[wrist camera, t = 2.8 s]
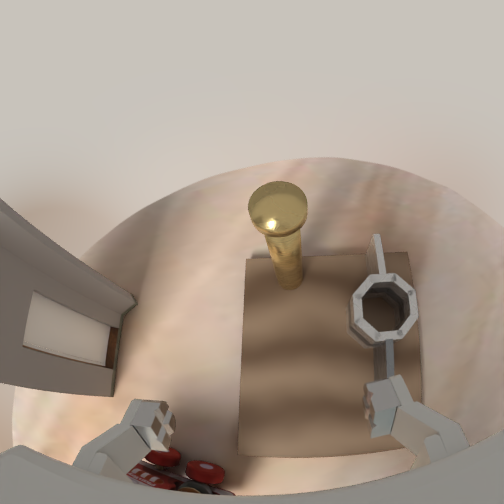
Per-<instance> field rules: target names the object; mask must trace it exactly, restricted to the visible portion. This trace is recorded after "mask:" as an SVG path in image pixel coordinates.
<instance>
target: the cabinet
mask: <svg viewBox="0 0 504 504" xmlns="http://www.w3.org/2000/svg"><path fill="white" fill-rule="evenodd" d="M137 304H138V303H137V302H136V300H135V298H134V296H133V295H132V294H130V293H129V292H127V291H126V290H124V289H122V288H121V287H119V286H118V285H116V284H115V283H113V282H111V281H110V280H108V279H107V278H105V277H104V276H102V275H101V274H99V273H98V272H96V271H95V270H93V269H92V268H90V267H89V266H87V265H86V264H84V263H83V262H82V261H80V260H79V259H77V258H76V257H74V256H73V255H72V254H70V253H69V252H67V251H66V250H65V249H63V248H62V247H60V246H59V245H58V244H56V243H55V242H54V241H52V240H51V239H50V238H48V237H47V236H46V235H45V234H43V233H42V232H40V231H39V230H38V229H37V228H35V227H34V226H33V225H32V224H30V223H29V222H28V221H27V220H25V219H24V218H23V217H22V216H21V215H19V214H18V213H17V212H16V211H14V210H13V209H12V208H11V207H10V206H8V205H7V204H6V203H5V202H4V201H3V200H1V199H0V383H4V384H10V385H14V386H20V387H25V388H31V389H37V390H44V391H51V392H59V393H68V394H78V395H89V396H104V397H113V395H114V384H115V374H116V365H117V357H118V350H119V343H120V336H121V329H122V323H123V317H124V315H125V314H127V313H128V312H129V311H130V310H131V309H133V308H134V307H135V306H136V305H137ZM33 344H34V345H33ZM36 345H37V346H36ZM39 346H40V347H39ZM46 348H47V349H46ZM49 349H50V350H49ZM56 351H57V352H56Z"/></svg>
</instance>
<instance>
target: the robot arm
mask: <svg viewBox="0 0 504 504" xmlns="http://www.w3.org/2000/svg"><path fill="white" fill-rule="evenodd" d="M363 390H364V394H365V395H364V396H363V400H362V404H363V412H364V416H365V418H366V419H367V420H368V423H367V428H368V431H369V435H370V438H375V437H379V436H384V435H388V434H391V436H393V437H394V438H395V439H396V440H397V441H399V442H400V443H401V444H402V445H404V446H405V447H406V448H407V449H408V450H410V451H411V452H412V453H413V454H415V455H416V456H417V457H416V459H415V461H414V463H413V465H412V467H411V469H410V471H407V472H404V473H400V474H397V475H394V476H390V477H386V478H383V479H379V480H375V481H371V482H366V483H362V484H357V485H352V486H347V487H342V488H336V489H330V490H323V491H315V492H307V493H297V494H285V495H264V496H232V495H211V494H199V493H189V492H180V491H173V490H166V489H160V488H154V487H149V486H144V485H139V484H134V483H133V481H132V480H131V479H130V478H129V477H128V476H127V475H126V474H127V473H128V472H129V471H130V470H131V469H132V468H133V467H134V466H135V465H137V464H138V463H139V462H140V461H141V460H142V459H143V458H144V457H145V456H146V455H147V454H148V453H149V452H150V451H151V450H158V451H168V449H169V446H170V443H171V438H170V435H171V434H173V433H174V431H175V427H176V421H175V417H174V415H173V413H172V412H170V411H169V410H168V407H169V406H168V405H167V403H166V402H165V401H155V400H142V399H134V400H132V401H131V403H130V405H129V407H128V409H127V411H126V413H125V415H124V417H123V419H122V421H121V423H120V424H116V425H115V426H113V427H112V428H110V429H109V430H107V431H106V432H104V433H103V434H101V435H100V436H98V437H97V438H95V439H94V440H92V441H91V442H89V443H87V444H86V445H84V446H83V447H82V448H81V450H80V452H79V453H78V455H77V457H76V459H75V461H74V463H73V465H69V464H66V463H63V462H61V461H58V460H56V459H53V458H51V457H49V456H46V455H44V454H42V453H39V452H37V451H35V450H33V449H31V448H29V447H26V446H24V445H18V446H15V447H13V448H10V449H8V450H6V451H4V452H3V453H0V504H504V429H502V430H501V431H499V432H497V433H495V434H494V435H492V436H490V437H488V438H486V439H484V440H482V441H480V442H478V443H476V444H474V445H472V446H470V445H469V443H468V441H467V439H466V437H465V435H464V433H463V431H462V429H461V427H460V425H459V424H458V423H456V422H454V421H452V420H451V419H449V418H447V417H445V416H443V415H441V414H439V413H438V412H436V411H434V410H432V409H430V408H429V407H427V406H425V405H423V404H421V403H420V402H418V401H416V402H414V401H413V399H412V397H411V395H410V393H409V390H408V388H407V386H406V384H405V382H404V380H403V378H402V376H401V375H396V376H392V377H388V378H384V379H380V380H376V381H372V382H367V383H364V387H363Z"/></svg>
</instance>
